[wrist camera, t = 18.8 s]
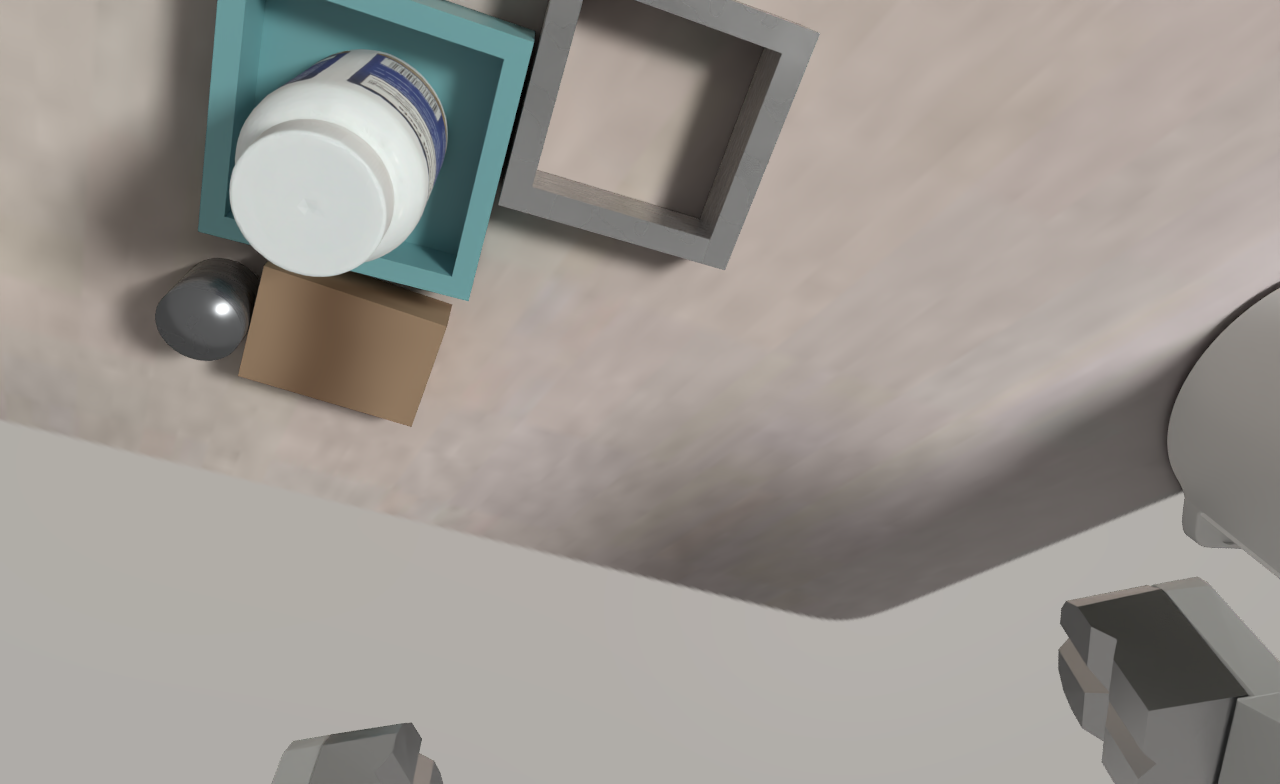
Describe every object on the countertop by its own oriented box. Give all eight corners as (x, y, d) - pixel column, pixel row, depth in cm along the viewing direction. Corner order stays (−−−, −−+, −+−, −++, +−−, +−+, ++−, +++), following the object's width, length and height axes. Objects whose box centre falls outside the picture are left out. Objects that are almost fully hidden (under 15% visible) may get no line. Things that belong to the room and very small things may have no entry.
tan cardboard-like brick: (452, 301, 35) (446, 326, 33) (419, 397, 37) (411, 426, 35) (282, 243, 33) (264, 265, 31) (256, 347, 35) (238, 375, 33)
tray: (535, 31, 30) (533, 42, 27) (474, 271, 34) (468, 301, 32) (253, -66, 28) (222, -64, 25) (226, 205, 32) (197, 231, 29)
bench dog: (269, 269, 33) (245, 299, 31) (260, 334, 35) (237, 368, 32) (188, 249, 33) (157, 278, 30) (183, 316, 34) (153, 349, 31)
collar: (800, 24, 31) (820, 33, 28) (713, 247, 35) (724, 270, 32) (565, -64, 28) (566, -62, 26) (501, 185, 32) (498, 205, 30)
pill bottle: (308, 197, 31) (221, 302, 23) (286, 43, 29) (176, 98, 20) (454, 200, 32) (422, 303, 23) (445, 49, 29) (404, 105, 21)
